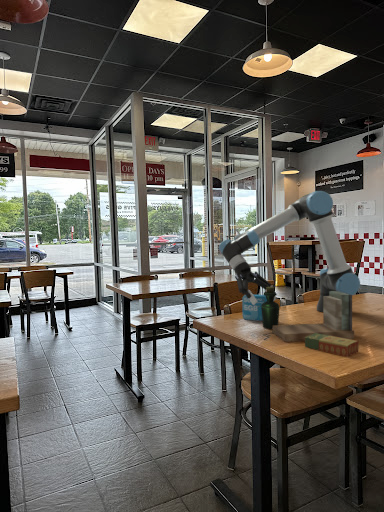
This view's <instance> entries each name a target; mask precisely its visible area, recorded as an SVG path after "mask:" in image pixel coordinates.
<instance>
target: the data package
mask: <svg viewBox="0 0 384 512" xmlns="http://www.w3.org/2000/svg"><path fill="white" fill-rule="evenodd" d="M253 295H254V297H255V298H256V300H257V303H256V304H255V305H253V304H252V303H251V301H250V300H249V298H247V296H246V295H245V294H244V295H243V296H242V298H241V300H242V306H241V307H242V318H243V319H244V320H247V321H248V320H249V321H262V310H261V305H262V304H263V303H264V302H266V301H267V299H266V296H265V295H264V294H253ZM262 322H263V321H262Z"/></svg>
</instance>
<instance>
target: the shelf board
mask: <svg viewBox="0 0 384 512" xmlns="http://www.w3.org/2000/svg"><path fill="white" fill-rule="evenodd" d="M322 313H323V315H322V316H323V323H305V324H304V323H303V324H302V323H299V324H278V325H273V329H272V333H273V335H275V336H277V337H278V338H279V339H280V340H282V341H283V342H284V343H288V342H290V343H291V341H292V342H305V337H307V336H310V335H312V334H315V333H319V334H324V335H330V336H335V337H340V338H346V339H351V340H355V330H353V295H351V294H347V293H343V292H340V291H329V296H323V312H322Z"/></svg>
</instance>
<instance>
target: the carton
mask: <svg viewBox="0 0 384 512" xmlns="http://www.w3.org/2000/svg"><path fill="white" fill-rule="evenodd" d="M359 344H360V343H359V340H355V339H346V338H340V337H335V336H330V335H324V334H319V333H315V334H312V335H310V336H307V337H305V341H304V347H305V348H308V349H311V350H312V349H313V350H317V351H322V352H325V353H326V352H327V353H329V354H333V353H334V354H335V355H338V356H343V357H346V358H348V357H351V356H352V355H354V353H355V354H357V353H359V348H360V347H359ZM356 352H357V353H356ZM334 354H333V355H334Z"/></svg>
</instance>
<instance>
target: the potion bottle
mask: <svg viewBox="0 0 384 512" xmlns="http://www.w3.org/2000/svg"><path fill="white" fill-rule="evenodd" d="M266 291H267V292H265V291H263V295H265V296H266V299H267V301H266V302H264V303H263V304H262V305H261V310H262V327H263V328H264V329H268V330H273V325H279V320H280V319H279V317H280V308H281V307H280V305H279V304H278V303H277V302H276V301H275V300H274V297H275V296H276V297H277V296H278V294H277V292H276V291H275V287H274V286H270V287H266Z"/></svg>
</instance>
